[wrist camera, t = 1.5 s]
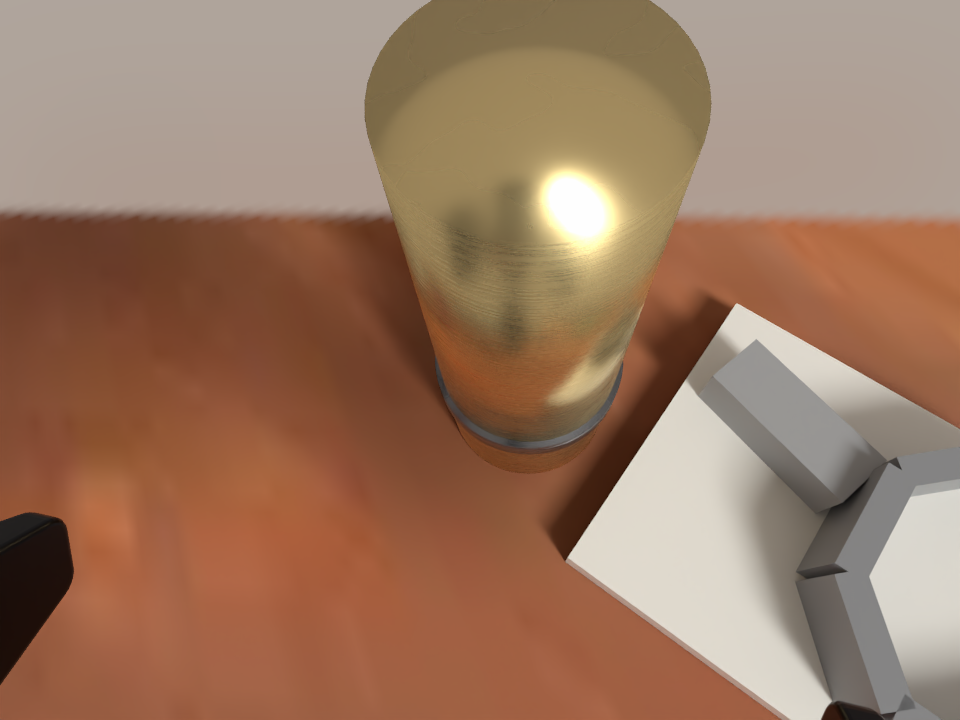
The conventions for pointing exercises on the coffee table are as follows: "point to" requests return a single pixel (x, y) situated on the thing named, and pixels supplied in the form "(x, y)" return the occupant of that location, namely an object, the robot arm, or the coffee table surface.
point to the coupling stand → (793, 531)
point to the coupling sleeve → (534, 200)
